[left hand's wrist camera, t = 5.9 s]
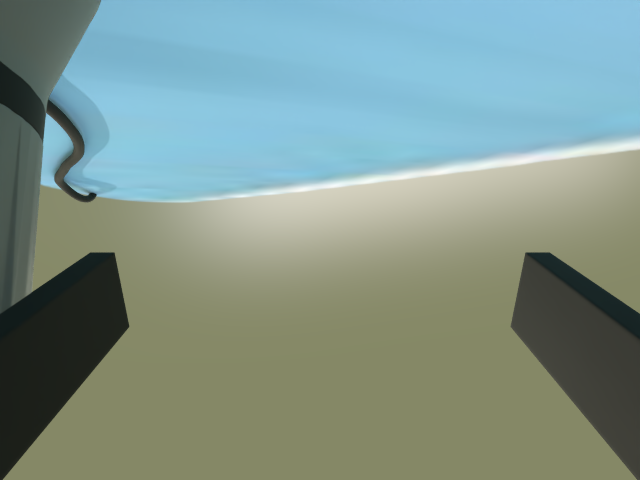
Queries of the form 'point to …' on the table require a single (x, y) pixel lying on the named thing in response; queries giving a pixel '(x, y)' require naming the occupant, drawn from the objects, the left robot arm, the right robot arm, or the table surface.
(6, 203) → the left robot arm
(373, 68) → the table surface
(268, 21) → the table surface
